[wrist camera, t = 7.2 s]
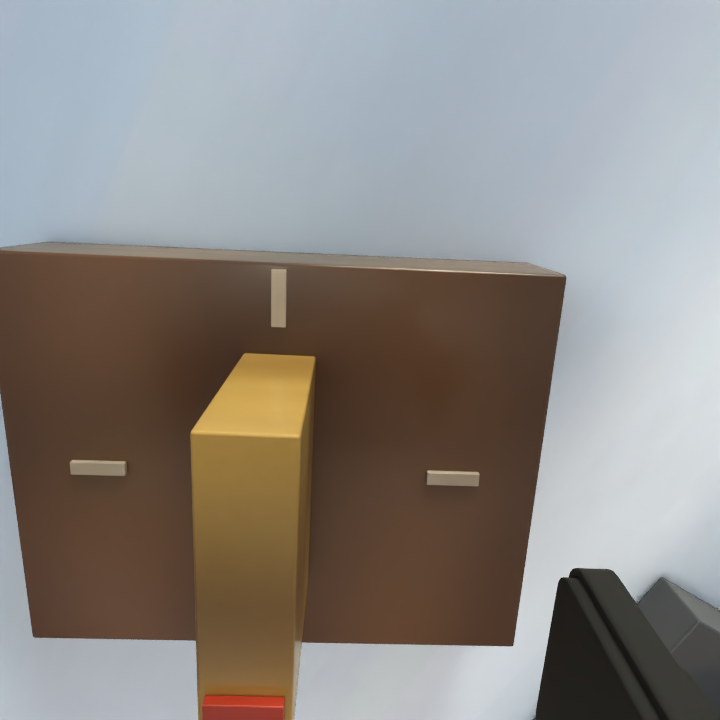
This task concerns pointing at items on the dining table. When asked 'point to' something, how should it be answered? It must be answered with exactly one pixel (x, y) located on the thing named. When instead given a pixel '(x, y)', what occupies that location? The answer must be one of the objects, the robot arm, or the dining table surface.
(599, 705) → the robot arm
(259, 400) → the yellow flat block
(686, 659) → the button housing
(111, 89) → the dining table surface
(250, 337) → the plate
